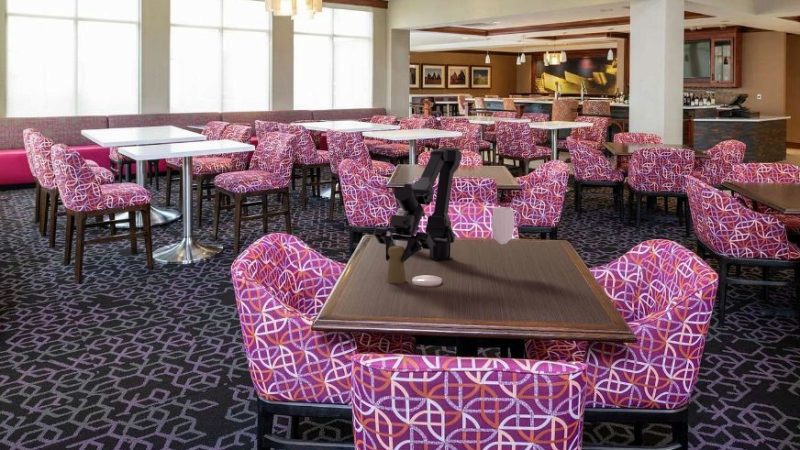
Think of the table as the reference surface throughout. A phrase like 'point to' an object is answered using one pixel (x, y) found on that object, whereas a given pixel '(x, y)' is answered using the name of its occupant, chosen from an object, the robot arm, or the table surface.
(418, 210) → the robot arm
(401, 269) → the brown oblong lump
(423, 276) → the coaster
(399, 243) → the energy drink can
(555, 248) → the table surface
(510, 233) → the cup
